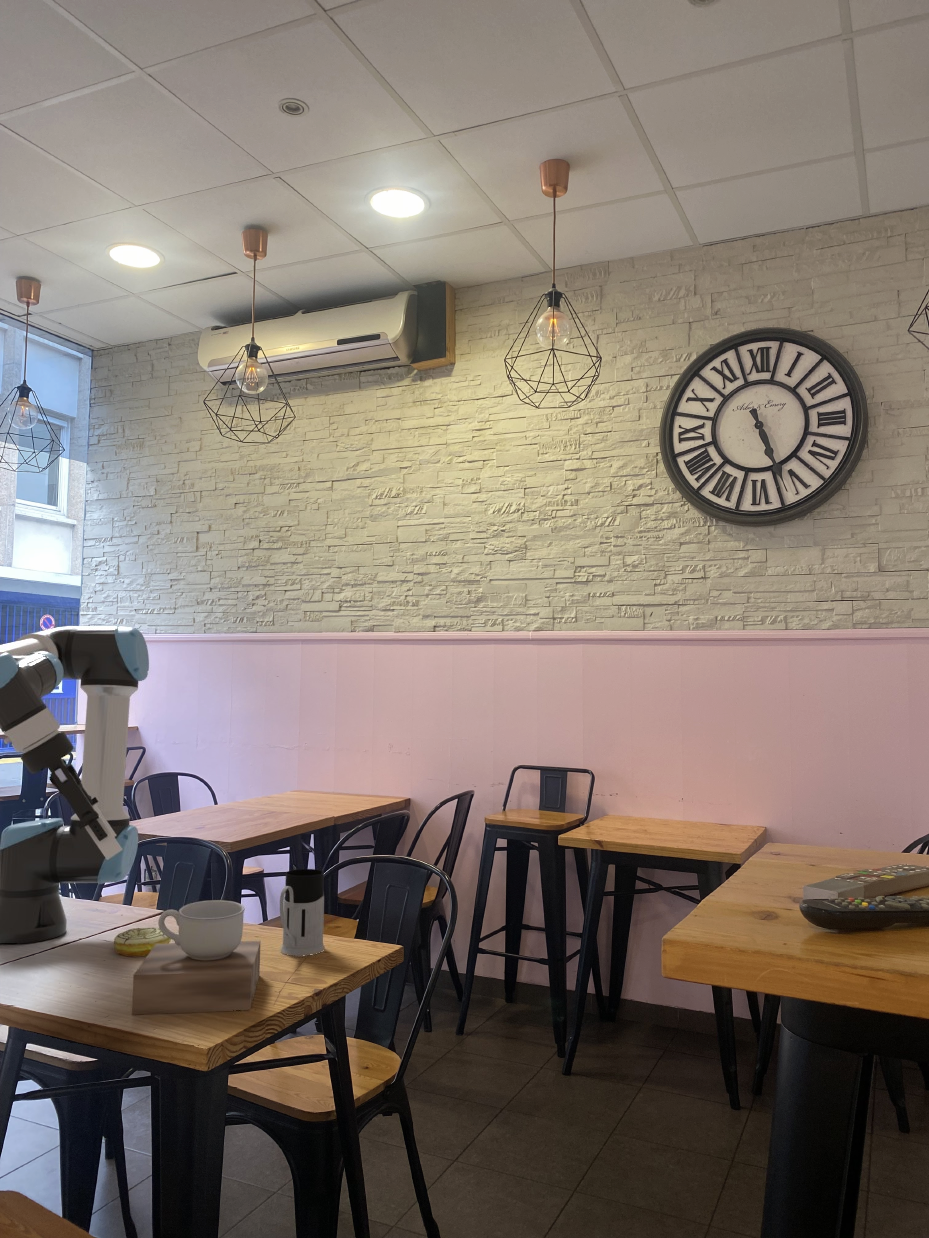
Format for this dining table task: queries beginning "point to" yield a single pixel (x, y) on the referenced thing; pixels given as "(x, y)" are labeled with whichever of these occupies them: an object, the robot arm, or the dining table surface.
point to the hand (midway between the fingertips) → (112, 847)
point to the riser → (195, 981)
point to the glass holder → (302, 912)
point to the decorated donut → (139, 941)
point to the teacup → (206, 928)
